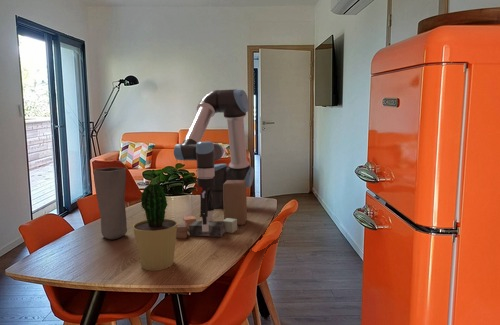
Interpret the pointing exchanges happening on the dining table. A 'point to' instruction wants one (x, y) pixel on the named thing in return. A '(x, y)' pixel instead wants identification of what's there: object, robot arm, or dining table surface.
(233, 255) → the dining table surface
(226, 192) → the wooden block
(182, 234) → the walnut cube
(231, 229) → the sage cube
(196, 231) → the stone block
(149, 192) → the potted cactus
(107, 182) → the vase
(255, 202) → the dining table surface
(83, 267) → the dining table surface
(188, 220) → the terracotta cube
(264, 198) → the dining table surface
